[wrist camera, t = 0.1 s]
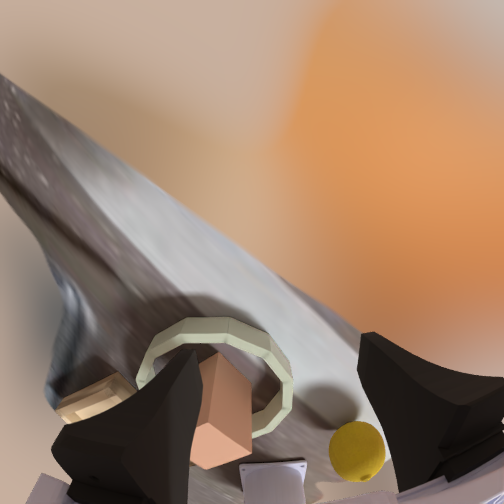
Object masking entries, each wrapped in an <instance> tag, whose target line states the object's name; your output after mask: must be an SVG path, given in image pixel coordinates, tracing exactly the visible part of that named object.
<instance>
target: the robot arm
mask: <svg viewBox="0 0 504 504" xmlns="http://www.w3.org/2000/svg"><path fill="white" fill-rule="evenodd" d="M357 372H358V375H359V378H360V381H361V384H362V387H363V389H364V391H365V393H366V396H367V398H368V400H369V402H370V404H371V406H372V408H373V410H374V412H375V414H376V416H377V418H378V420H379V422H380V424H381V426H382V429H383V431H384V434H385V437H386V440H387V444H388V447H389V450H390V454H391V457H392V461H393V465H394V469H395V474H396V479H397V484H398V490H399V493H398V494H395V493H394V492H389V491H383V490H381V491H376V492H370V493H365V494H361V495H357V496H353V497H349V498H345V499H340V500H334V501H329V502H324V503H318V504H503V503H504V433H503V431H502V430H504V424H503V423H502V422H501V421H502V419H503V417H504V378H503V377H491V376H479V375H472V374H467V373H462V372H458V371H454V370H450V369H447V368H444V367H441V366H438V365H436V364H433V363H430V362H428V361H426V360H424V359H422V358H420V357H418V356H416V355H413V354H412V353H410V352H408V351H406V350H404V349H403V348H401V347H399V346H398V345H396V344H394V343H393V342H391V341H389V340H388V339H386V338H384V337H383V336H381V335H379V334H377V333H375V332H369V333H363V334H361V340H360V349H359V358H358V365H357ZM202 394H203V382H202V377H201V373H200V369H199V364H198V360H197V355H196V351H195V349H193V350H181V351H180V352H179V353H178V354H177V355H176V356H175V357H174V358H173V359H172V360H171V361H170V362H169V363H168V364H167V365H166V366H165V367H164V368H163V369H162V370H161V371H160V372H159V373H158V374H157V375H156V376H155V377H154V378H153V379H152V380H150V381H149V382H148V383H147V384H146V385H145V386H144V387H142V388H141V389H140V390H139V391H137V392H136V393H134V394H133V395H132V396H130V397H129V398H127V399H126V400H124V401H122V402H121V403H119V404H117V405H115V406H113V407H112V408H110V409H108V410H106V411H104V412H102V413H99V414H97V415H95V416H92V417H90V418H87V419H84V420H81V421H77V422H74V423H70V424H67V425H64V427H63V428H62V430H61V432H60V433H59V435H58V437H57V438H56V440H55V442H54V443H53V445H52V448H51V451H52V454H53V456H54V458H55V460H56V461H57V462H58V464H59V465H60V466H61V467H62V468H63V470H64V471H65V472H66V473H67V474H68V475H69V476H70V477H71V479H72V483H71V485H69V484H67V483H65V482H63V481H61V480H59V479H56V478H54V477H51V476H49V475H46V474H44V473H41V475H40V477H39V479H38V481H37V482H36V484H35V486H34V488H33V490H32V492H31V494H30V496H29V498H28V500H27V502H26V504H187V499H188V478H189V465H190V455H191V447H192V442H193V438H194V434H195V429H196V425H197V421H198V417H199V413H200V408H201V404H202ZM306 467H307V461H306V460H299V461H288V462H275V463H254V464H240V465H239V470H240V476H241V482H242V488H243V494H244V504H306V502H305V495H304V488H303V483H304V478H305V472H306Z"/></svg>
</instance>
